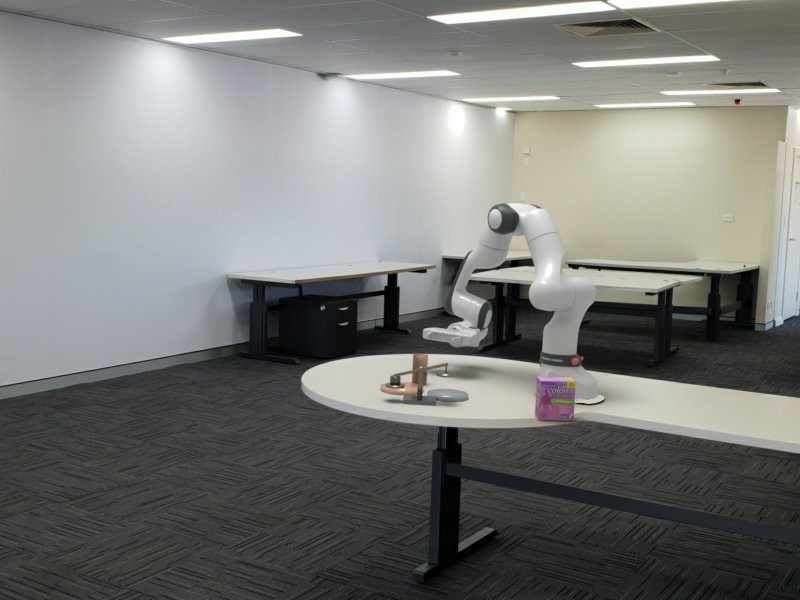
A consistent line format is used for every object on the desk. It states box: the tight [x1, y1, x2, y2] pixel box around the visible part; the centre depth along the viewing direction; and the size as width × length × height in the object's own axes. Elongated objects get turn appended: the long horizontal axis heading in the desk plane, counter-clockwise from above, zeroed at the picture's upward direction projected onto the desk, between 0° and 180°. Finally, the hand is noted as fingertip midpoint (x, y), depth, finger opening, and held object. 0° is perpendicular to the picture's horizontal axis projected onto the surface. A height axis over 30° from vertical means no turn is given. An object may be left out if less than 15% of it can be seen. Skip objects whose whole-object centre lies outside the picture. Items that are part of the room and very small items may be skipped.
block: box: [411, 353, 429, 387], centre depth 283 cm, size 5×5×10 cm
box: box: [534, 376, 576, 422], centre depth 243 cm, size 10×6×12 cm, turn 92°
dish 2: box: [426, 388, 469, 403], centre depth 266 cm, size 13×13×1 cm
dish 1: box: [380, 381, 425, 396], centre depth 273 cm, size 14×14×1 cm
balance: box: [385, 362, 457, 406], centre depth 257 cm, size 21×7×13 cm, turn 87°
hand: (438, 338), depth 292 cm, fingers open, 8 cm apart
